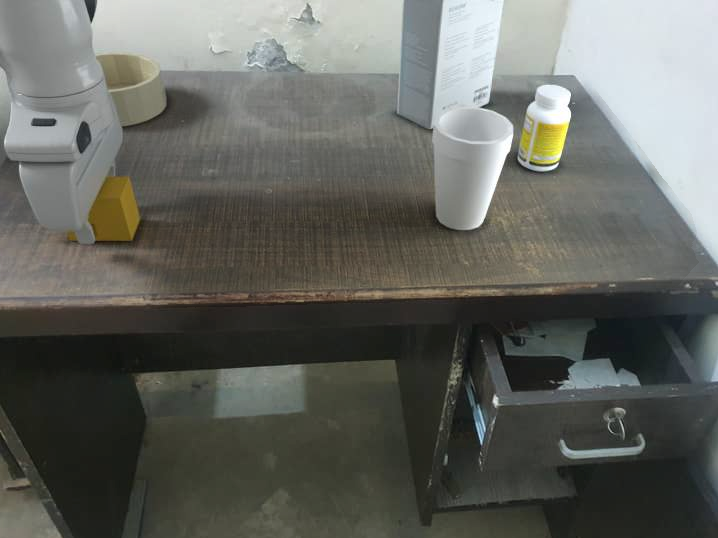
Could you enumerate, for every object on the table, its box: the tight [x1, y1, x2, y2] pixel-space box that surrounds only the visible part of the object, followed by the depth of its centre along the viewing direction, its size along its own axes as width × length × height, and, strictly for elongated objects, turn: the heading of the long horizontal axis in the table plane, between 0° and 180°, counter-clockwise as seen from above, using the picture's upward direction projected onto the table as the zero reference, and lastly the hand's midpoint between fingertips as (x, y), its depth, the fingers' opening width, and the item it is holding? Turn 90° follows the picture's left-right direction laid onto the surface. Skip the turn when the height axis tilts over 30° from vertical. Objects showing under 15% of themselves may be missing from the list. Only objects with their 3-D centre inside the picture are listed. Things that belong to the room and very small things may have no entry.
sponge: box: [66, 176, 141, 242], centre depth 74 cm, size 7×4×6 cm, turn 95°
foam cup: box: [431, 107, 514, 231], centre depth 79 cm, size 10×9×13 cm
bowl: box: [94, 51, 168, 127], centre depth 98 cm, size 15×15×6 cm
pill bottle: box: [517, 84, 572, 172], centre depth 91 cm, size 6×6×11 cm
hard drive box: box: [396, 0, 505, 130], centre depth 99 cm, size 16×8×20 cm, turn 136°
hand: (99, 216), depth 75 cm, fingers open, 8 cm apart
